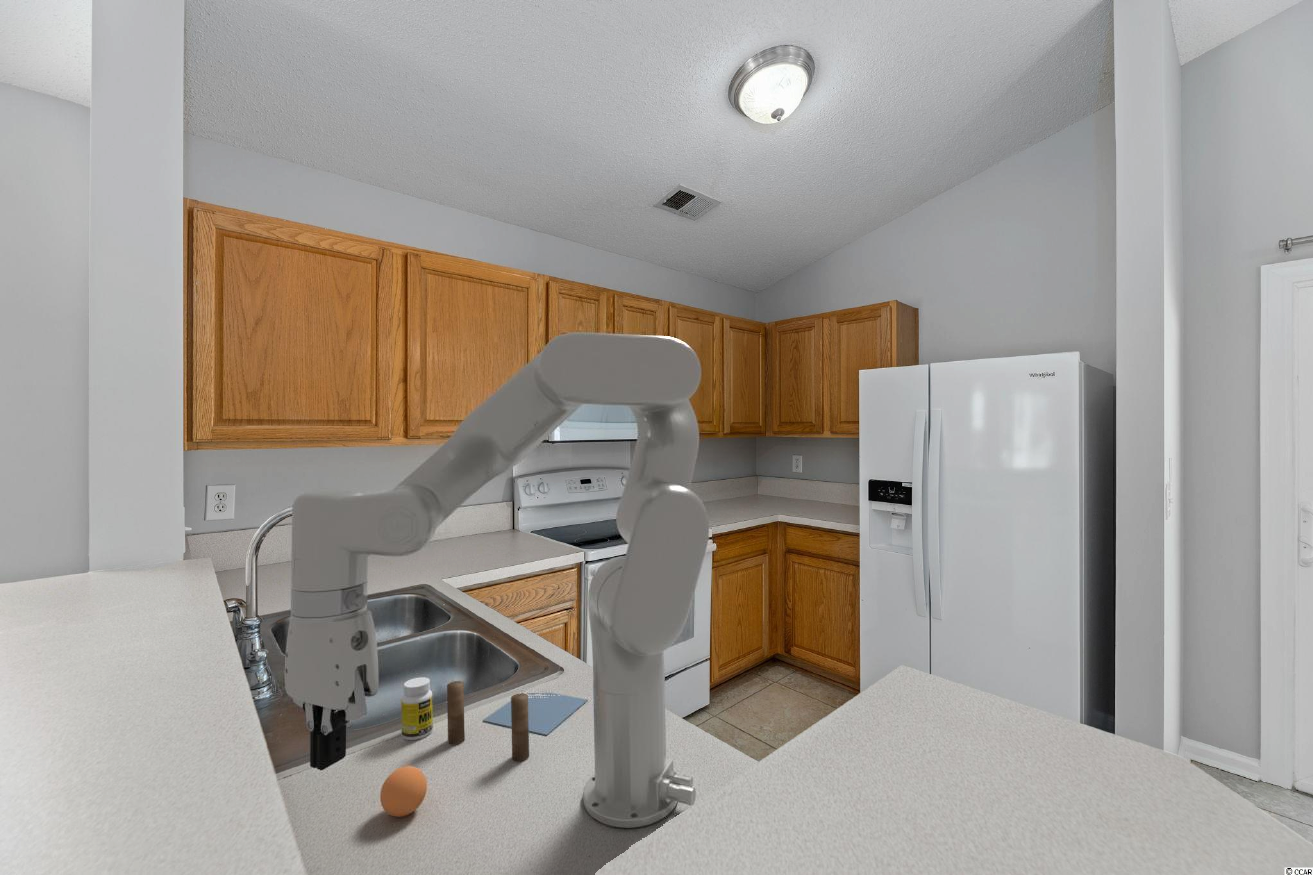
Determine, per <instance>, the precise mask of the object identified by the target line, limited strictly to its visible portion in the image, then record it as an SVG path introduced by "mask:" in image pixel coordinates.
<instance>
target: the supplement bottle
mask: <svg viewBox="0 0 1313 875" xmlns="http://www.w3.org/2000/svg"><path fill="white" fill-rule="evenodd" d="M400 706H401V708H400V709H401V710H400V711H401V738H403V739H404V740H405V741H406V740H408V741H417V740H421V739H424V738H425V737H428V736H429V735H430V734H431V733H432V732H433V730H434V723H433V722H434V720H433V719H434V718H433V716H434V715H433V712H434V711H433V710H434V709H433V692H432V690H431V681H430V678H428V677H423V676H422V677H414V678H411V679H409V680H407V681H405V682H404V684H403V695H402V697H401V700H400Z"/></svg>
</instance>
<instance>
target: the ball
mask: <svg viewBox="0 0 1313 875" xmlns="http://www.w3.org/2000/svg"><path fill="white" fill-rule="evenodd" d="M427 782H428V781H427V778H426V776H425V774H424V772H422V770H420V769H419V768H417V767H415V766H412V765H411V766H410V765H406V766H402V767H398V768H396V769H395V770H394V771H392V772H391V773H390V774H389V775H388V776H387V777H386V779H385V781H384V782H383V784H382V786H381V790H380V795H379V796H380V798H379V800H380V804H381V807H382V808H383V811H385V812H386V813H387V814H388V815H390V816H393V817H395V818H396V817H399V818H400V817H406V816H408V815H410V814H412V813H413V812H415V811H416V810H417V809H418V808H419V807H420V806H421V804H422V803H423V801H424V799H425V797H426V795H427V790H428V784H427Z"/></svg>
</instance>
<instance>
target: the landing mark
mask: <svg viewBox="0 0 1313 875" xmlns="http://www.w3.org/2000/svg"><path fill="white" fill-rule="evenodd" d="M541 691H542V692H543V690H541ZM544 692H546V693H540V694H542V695H544V694H545V695H547V696H541V697H543V698H540V696H532V698H528V719H529V733H533V734H537V735H542V736H548V735H550V734H551V733H552V732H553V731H554V730H556V729H557V728H558V727H559V726H560V725H561V724H563V723H564V722H565V721H566V720H567V719H569V717H571V716H572V715H573V714H574V713H575V712H576V711H578V710H579V709H580V708H581V707H583V706H584V705H585V704H586V703H587V702H588V701H589V699H586V698H581V697H575V696H571V695H565V694H559V693H554V692H549V691H544ZM547 692H549V693H547ZM527 694H529V695H530V694H531V695H535V694H539V693H527ZM548 695H550V696H548ZM551 695H552V696H551ZM553 695H555V696H553ZM558 695H560V696H558ZM561 695H562V696H561ZM528 697H529V696H528ZM530 697H531V696H530ZM533 697H534V698H533ZM536 697H537V698H536ZM538 697H539V698H538ZM544 697H546V698H544ZM547 697H548V698H547ZM482 722H483V723H488V724H493V725H498V726H501V727H507V728H511V729H512V723H511V700H510V701H509V702H507V703H506V704H504V705H503V706H501V707H499V708H498V709H497V710H495V711H494V712H493V713H491V714H490V715H488V716H487V717H485V718H484V719H482Z"/></svg>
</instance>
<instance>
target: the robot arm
mask: <svg viewBox="0 0 1313 875" xmlns="http://www.w3.org/2000/svg"><path fill="white" fill-rule="evenodd" d="M701 367H702V366H701V362H700V360H699V356H698V355H697V353H696V352H695V350H693V348H692V347H691V346H689V344H687V343H686V342H684V341H682V340H681V339H678V338H675V337H671V336H666V335H665V336H664V335H652V334H651V335H649V334H648V335H646V334H645V335H644V334H623V333H621V334H620V333H606V332H604V333H603V332H581V331H580V332H568V333H567V332H566V333H563V334H559V335H557V336H554V338H552V339H550V341H549V342H548V343H547V344H545V346H544V347H543V348H542V350H541V351H540V352H538V354H536V356H534V357H533V358H532V359H531V360H530V361H529V362H528V363H526V364H525V365H524V366H523V367H522V368H520V369H519V371H517V372H516V373H515V374H514V375H513V376H512V377H510V378H509V379H508V380H507V381H506V382H505V383H504V384H502V385H501V386H500V387H499V388H498V389H497V390H496V391H494V392H493V393H492V394H491V395H489V396H488V397H487V398H486V399H485V400H483V402H481V403H480V404H479V405H478V406H477V407H475V408H474V409H473V410H472V411H471V412H470V413H469V414H468V415H467V416H466V417H465V418H464V419H463V420H461V423H460V424H459V425H458V426H457V427H456V430H455V431H454V432H453V433H452V435H451V436H450V437H449V438H448V439H446V441H445V442H444V443H443V444H442V445H441V446H440V447H438V449H437V450H436V451H435V452H434V453H433V454H432V455H430V456H429V457H428V458H427V459H426V460H425V461H424V462H422V463H421V464H420V465H419V466H418V467H417V468H416V469H415V470H413V471H412V472H411V473H410V474H408V476H407V477H405V478H404V479H403V480H401V481H400V482H399V483H397V485H395V487H393V488H392V489H390V490H389V491H388V490H387V491H386V492H381V493H372V494H363V493H362V492H360V491H356V490H345V489H344V490H343V489H342V490H338V489H336V490H317V491H309V492H304V493H302V494H300V495H299V496H297V497H296V498H295V500H294V501H293V504H292V508H291V555H290V556H291V558H290V559H291V562H290V563H291V564H290V566H291V567H290V568H291V572H290V573H291V574H290V575H291V576H290V577H291V578H290V580H291V581H290V584H291V585H290V586H291V587H290V618H289V619H290V620H289V625H288V629H287V637H286V647H285V655H284V656H285V658H284V659H285V660H284V685H285V686H284V687H285V692H286V694H287V695H288V696H289V697H290V698H292V702H293V703H294V704H295V705H297V706H298V707H300V708H302V710H303V711H304V714H305V720H306V728H307V729H308V730H309V731H311V732H309V733H310V734H309V736H310V737H309V738H310V740H309V741H310V742H309V743H310V745H309V747H310V748H309V749H310V750H309V751H310V752H309V766H310V767H311V768H312V769H313V768H314V769H317V770H319V771H324V770H326V769H327V768H329V767H331V766H333V765H334V764H336V763H338V762H340V761H341V760H343V759H344V758H346V755H347V725H348V724H350V723H351V721H356V720H358V719H360V718H362V717H364V716H366V715H367V713H368V709H367V707H368V706H367V702H366V698H367V697H369V698H370V697H373V696H376V695H377V693H378V690H379V657H378V644H377V635H376V629H375V622H374V619H373V618H374V617H373V614H372V611H371V610H369V609H368V558H369V557H368V555H370V556H371V555H372V556H380V557H405V556H406V557H407V556H410V555H413V554H416V553H418V552H420V551H421V550H422V549H424V548H425V547H427V545H428V544H429V543H430V542H431V540H432V539H433V536H434V535H435V532H436V530H437V529H438V528H439V526H440V525H441V524H442V523H444V521H446V520H447V519H448V518H449V517H450V516H451V515H452V514H453V513H454V512H455V511H457V509H459V508H460V507H461V506H463V504H464V503H465V502H466V501H468V499H470V498H471V497H472V496H474V495H475V494H476V493H477V492H479V490H480V489H482V488H483V487H484V486H486V485H487V484H489V483H490V482H491V481H493V480H495V478H497V477H500V476H501V475H504V474H505V473H507V472H509V471H510V470H512V469H513V468H514V467H515V466H517V465H518V464H520V463H521V462H522V461H523V460H524V459H526V457H528V455H530V453H532V452H533V451H534V450H535V449H536V448H537V447H538V446H539V445H540V444H541V443H542V442H543V441H544V440H546V439H547V438H548V437H549V436H550V435H551V434H552V433H553V432H554V431H556V430H557V428H558V427H560V426H561V425H562V424H564V422H565V421H567V419H568V418H570V417H571V416H572V415H573V414H574V413H575V412H576V411H578V409H579V408H580V407H582V406H583V405H597V406H598V405H600V406H628V408H629V409H630V410H631V412H632V414H633V416H634V418H635V421H636V426H637V427H636V428H637V439H636V443H635V448H634V454H633V458H632V461H631V464H630V468H629V471H628V475H627V477H626V482H625V485H624V489H623V492H622V495H621V497H620V500H619V504H618V507H617V511H616V519H615V520H616V526H617V530H618V532H619V534H620V536H621V537H622V539H624V541H625V542H626V543H628V546H627V549H626V552H625V555H624V556H622V555H621V556H616V557H613V558H610V559H609V560H607V561H605V562H604V563H602V564H601V565H600V566H599V567H598V569H597V570H596V571H595V572H594V574H593V575H592V577H591V578H592V579H591V580H590V584H589V587H588V588H589V589H588V595H587V605H588V606H587V610H588V619H589V625H590V626H589V628H590V638H591V651H592V689H593V691H592V693H593V694H592V695H593V698H592V699H593V739H594V740H593V743H594V745H593V746H594V748H593V749H594V752H593V753H594V774H593V775H592V776H591V777H590V778H589V779H588V780H587V781H586V783H585V785H584V786H583V792H582V794H583V797H582V798H583V805H584V808H585V810H586V811H587V813H588V814H589V816H591V817H592V818H594V819H595V820H597V821H598V822H600V823H602V824H605V825H607V826H611V827H614V828H615V827H616V828H624V829H625V828H626V829H630V828H631V829H632V828H641V827H645V826H648V825H651V824H654V822H655V823H657V822H659V821H660V820H662V819H664V818H665V817H667V816H668V815H670V813H671V812H672V811H673V810H674V808H675V807H676V805H677V803H680V804H684V805H688V806H692V805H694V804H695V801H696V795H697V794H696V793H697V790H696V788H695V787H693V783H694V779H693V776H687V775H681V774H677V771H674V759H673V758H670V757H667V737H666V735H667V732H666V691H665V690H666V688H665V687H666V686H665V682H666V681H665V677H666V676H665V675H666V674H665V673H666V672H665V670H666V669H665V652H664V651H667V650H668V649H669V648H670V647H671V646H672V645H673V644H674V643H675V642H676V640H677V639H678V638H679V636H680V635H681V633H682V631H683V630H684V627H685V625H686V622H687V620H688V617H689V614H690V610H691V608H692V603H693V599H694V597H695V596H694V595H695V593H696V588H697V584H698V583H699V579H700V573H701V570H702V567H703V564H704V559H705V556H706V552H707V547H708V542H709V534H710V523H709V517H708V513H707V509H706V506H705V505H704V503H703V501H702V500H701V498H700V497H699V496H698V495H697V494H696V493H695V492H694V491H692V490H691V486H692V481H693V477H694V476H693V475H694V471H695V467H696V462H697V458H698V453H699V448H700V432H699V431H700V430H699V422H698V418H697V417H696V413H695V411H694V409H693V406H692V403H691V401H690V398H692V396H693V395H695V393H696V391H697V390H698V388H699V386H700V382H701V380H702V368H701Z"/></svg>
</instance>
